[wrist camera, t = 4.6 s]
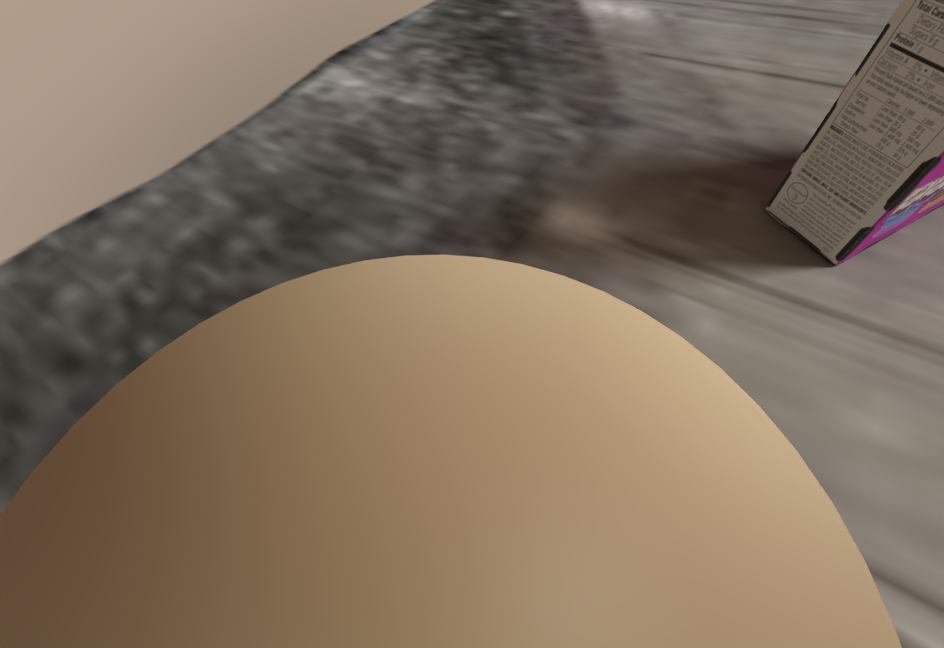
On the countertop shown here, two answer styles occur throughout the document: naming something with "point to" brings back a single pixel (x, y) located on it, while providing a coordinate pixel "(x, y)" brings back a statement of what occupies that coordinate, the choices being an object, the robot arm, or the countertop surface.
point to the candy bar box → (875, 144)
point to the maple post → (430, 484)
